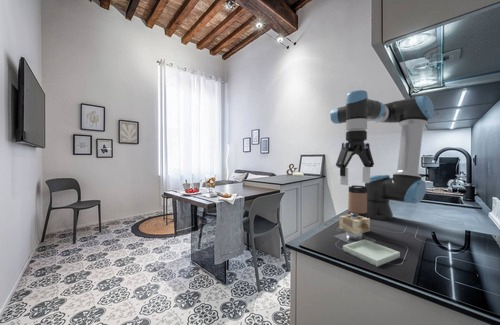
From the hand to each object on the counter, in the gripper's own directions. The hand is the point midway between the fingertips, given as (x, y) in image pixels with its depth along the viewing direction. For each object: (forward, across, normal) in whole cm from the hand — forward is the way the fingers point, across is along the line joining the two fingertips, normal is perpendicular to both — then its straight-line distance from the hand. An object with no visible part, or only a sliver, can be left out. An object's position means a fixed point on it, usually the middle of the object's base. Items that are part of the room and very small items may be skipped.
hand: (355, 183), depth 84 cm
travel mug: (+23, -11, -7) cm, 26 cm away
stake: (+23, 0, 0) cm, 23 cm away
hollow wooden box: (+19, 0, 0) cm, 19 cm away
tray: (+23, +7, +11) cm, 26 cm away
